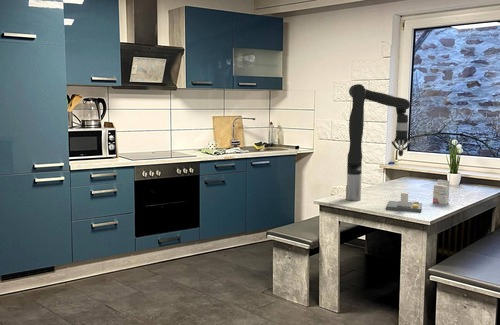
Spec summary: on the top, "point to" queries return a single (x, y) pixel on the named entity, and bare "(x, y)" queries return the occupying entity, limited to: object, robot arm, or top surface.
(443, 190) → the ink cartridge box
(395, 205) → the switch panel
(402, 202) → the switch tab
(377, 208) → the top surface
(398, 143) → the robot arm
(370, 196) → the top surface
